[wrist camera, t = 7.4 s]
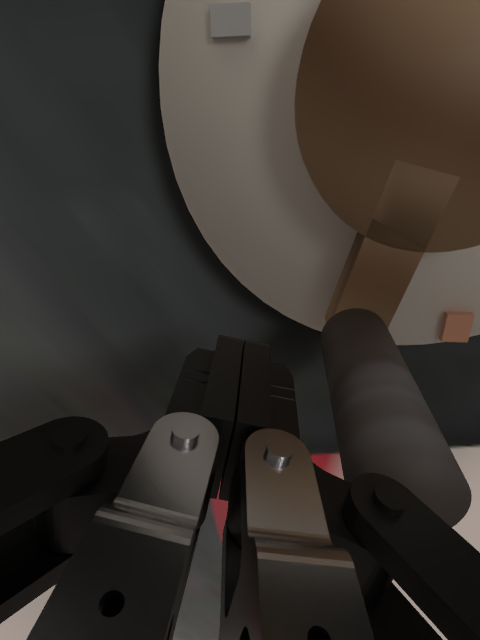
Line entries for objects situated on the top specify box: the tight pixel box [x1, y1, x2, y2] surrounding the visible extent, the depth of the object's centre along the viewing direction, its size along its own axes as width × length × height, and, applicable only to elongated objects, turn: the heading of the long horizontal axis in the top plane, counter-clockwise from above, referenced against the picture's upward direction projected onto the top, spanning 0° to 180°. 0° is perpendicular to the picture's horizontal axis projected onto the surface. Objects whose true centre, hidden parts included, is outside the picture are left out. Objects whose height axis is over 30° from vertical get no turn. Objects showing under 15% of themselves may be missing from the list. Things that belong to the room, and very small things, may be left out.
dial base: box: [159, 0, 480, 345], centre depth 13 cm, size 18×18×2 cm
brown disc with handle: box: [294, 0, 480, 528], centre depth 9 cm, size 14×9×8 cm, turn 166°
